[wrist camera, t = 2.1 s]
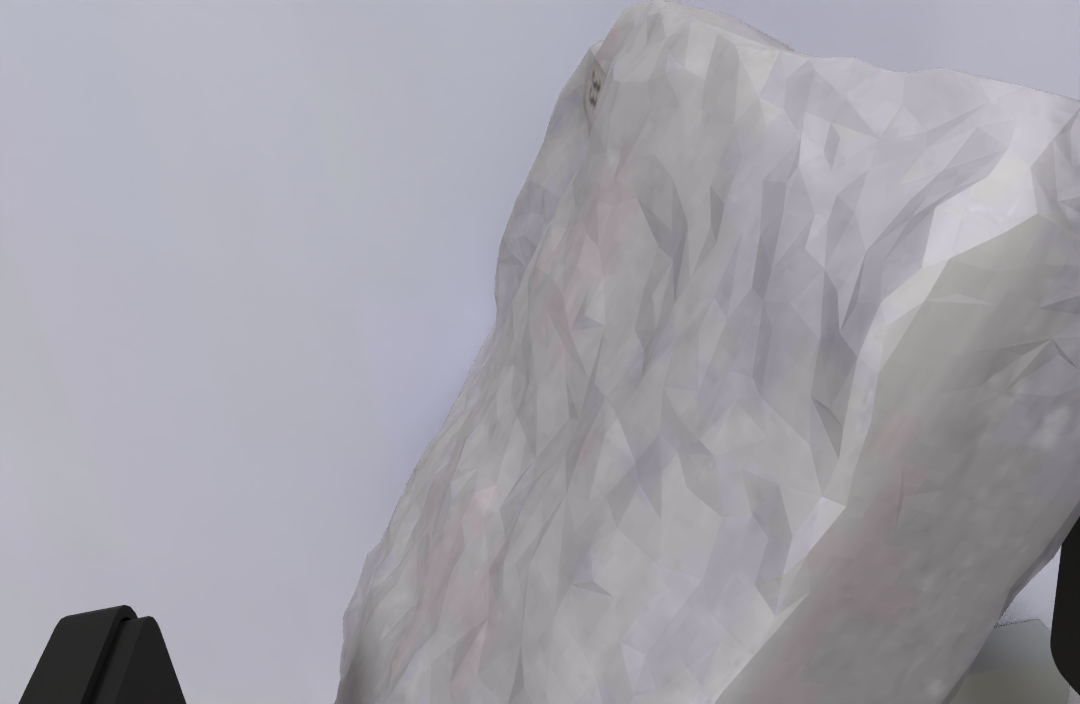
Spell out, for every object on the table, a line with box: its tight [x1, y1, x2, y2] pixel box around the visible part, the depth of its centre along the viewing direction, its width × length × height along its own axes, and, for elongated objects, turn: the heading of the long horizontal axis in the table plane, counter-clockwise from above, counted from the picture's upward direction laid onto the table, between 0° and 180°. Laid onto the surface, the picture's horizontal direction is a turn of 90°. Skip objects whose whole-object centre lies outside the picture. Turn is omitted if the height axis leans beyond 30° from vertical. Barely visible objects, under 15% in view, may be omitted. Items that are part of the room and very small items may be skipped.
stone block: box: [334, 0, 1080, 704], centre depth 13 cm, size 12×5×10 cm, turn 155°
